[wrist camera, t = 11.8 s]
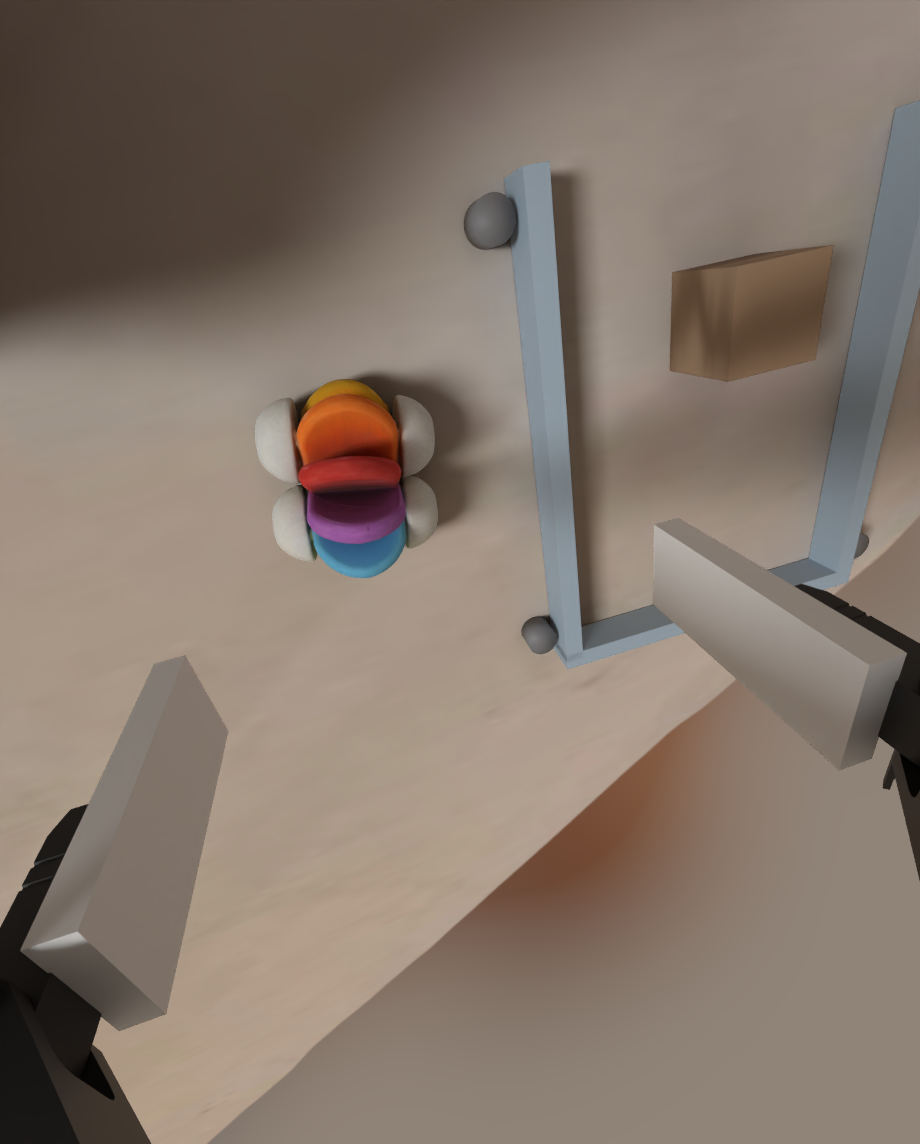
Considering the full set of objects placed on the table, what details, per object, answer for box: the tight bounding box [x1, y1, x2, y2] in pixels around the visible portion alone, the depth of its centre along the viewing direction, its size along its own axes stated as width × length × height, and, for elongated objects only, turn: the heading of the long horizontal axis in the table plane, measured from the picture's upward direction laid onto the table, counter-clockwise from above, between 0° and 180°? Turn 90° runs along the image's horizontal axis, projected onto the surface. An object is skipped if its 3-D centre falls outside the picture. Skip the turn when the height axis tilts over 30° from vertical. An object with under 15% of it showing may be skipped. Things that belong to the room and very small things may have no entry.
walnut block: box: [670, 245, 834, 382], centre depth 27 cm, size 5×5×5 cm
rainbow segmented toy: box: [255, 379, 438, 578], centre depth 25 cm, size 8×10×7 cm
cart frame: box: [464, 100, 920, 669], centre depth 31 cm, size 28×27×2 cm
